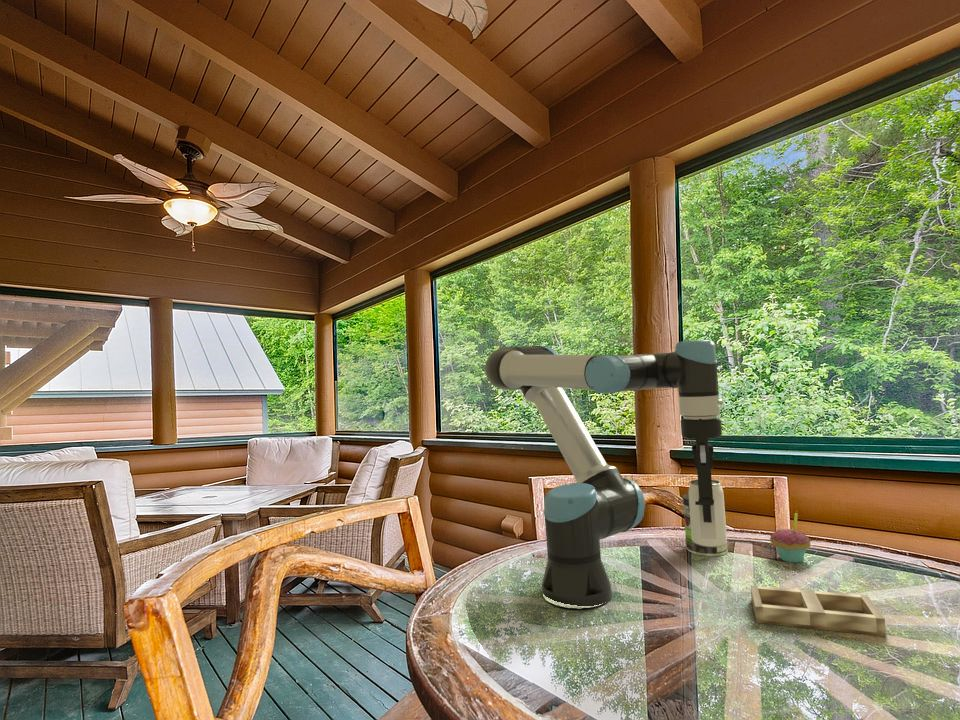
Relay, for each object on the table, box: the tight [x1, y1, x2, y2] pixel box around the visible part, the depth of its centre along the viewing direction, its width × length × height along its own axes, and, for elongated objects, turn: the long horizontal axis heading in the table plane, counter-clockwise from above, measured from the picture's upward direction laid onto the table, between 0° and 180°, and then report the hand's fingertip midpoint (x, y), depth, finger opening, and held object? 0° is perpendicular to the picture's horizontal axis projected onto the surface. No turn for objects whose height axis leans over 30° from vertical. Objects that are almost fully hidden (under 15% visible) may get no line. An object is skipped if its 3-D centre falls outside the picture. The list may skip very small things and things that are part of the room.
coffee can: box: [681, 492, 729, 557], centre depth 139 cm, size 10×10×14 cm
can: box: [687, 479, 728, 547], centre depth 105 cm, size 6×6×12 cm
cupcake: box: [769, 510, 811, 563], centre depth 128 cm, size 9×8×12 cm
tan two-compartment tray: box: [749, 585, 887, 637], centre depth 99 cm, size 20×10×3 cm, turn 67°
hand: (708, 532), depth 104 cm, fingers closed on can, 6 cm apart
